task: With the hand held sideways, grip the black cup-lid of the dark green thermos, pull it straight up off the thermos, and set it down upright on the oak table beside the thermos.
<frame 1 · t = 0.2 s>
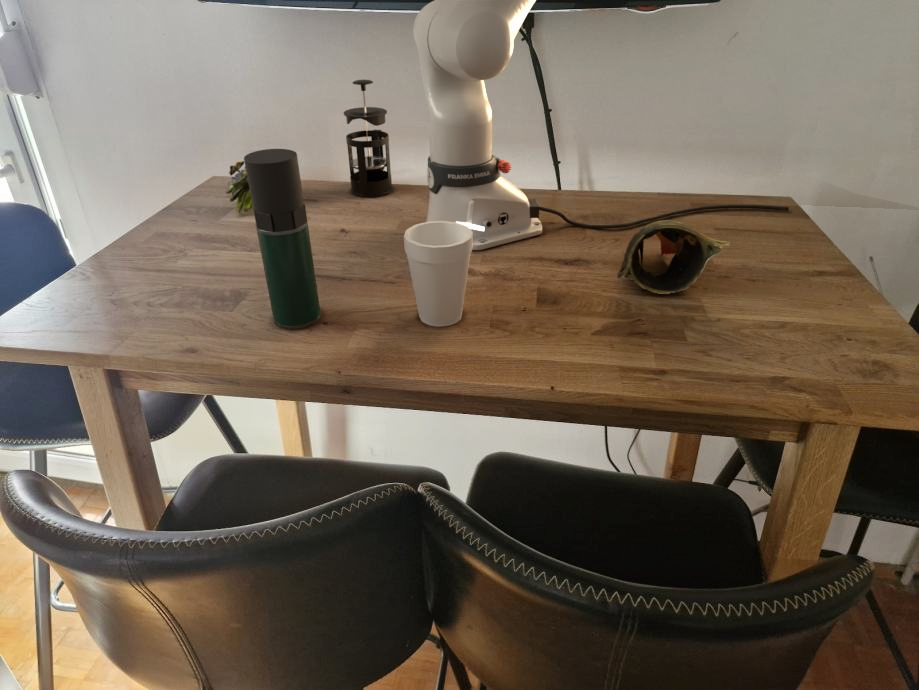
french press: (372, 190, 144), on the table
foam cup: (440, 316, 96), on the table
thermos: (297, 318, 95), on the table
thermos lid: (281, 222, 87), point 15 cm above the table, touching thermos
pot: (660, 281, 105), on the table
passion flower: (257, 206, 136), on the table
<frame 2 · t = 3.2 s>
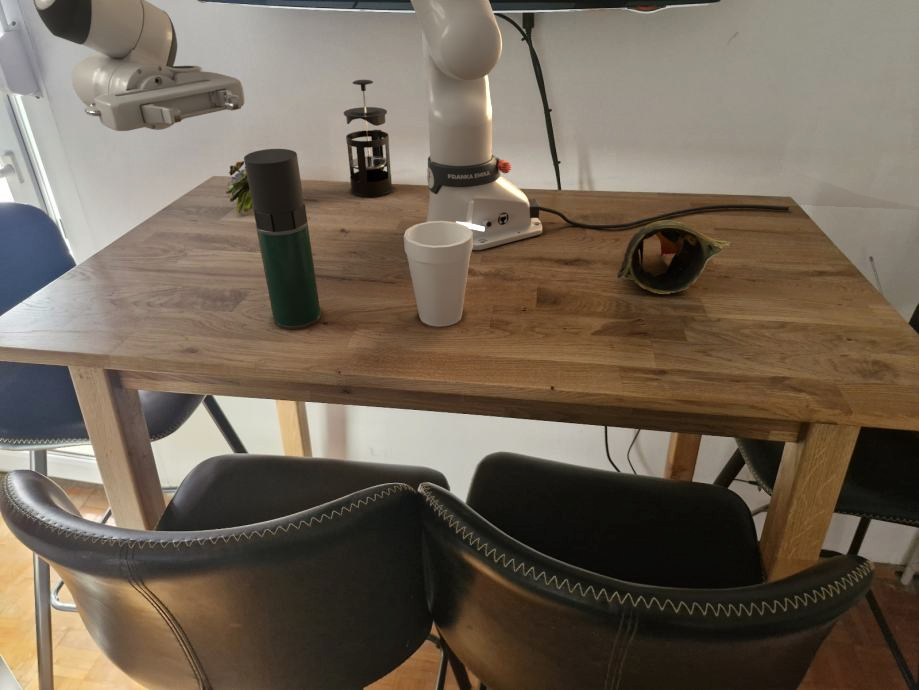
hand: (207, 109, 87), 28 cm above the table, tool horizontal, fingers open, 8 cm apart
nothing on the table moved.
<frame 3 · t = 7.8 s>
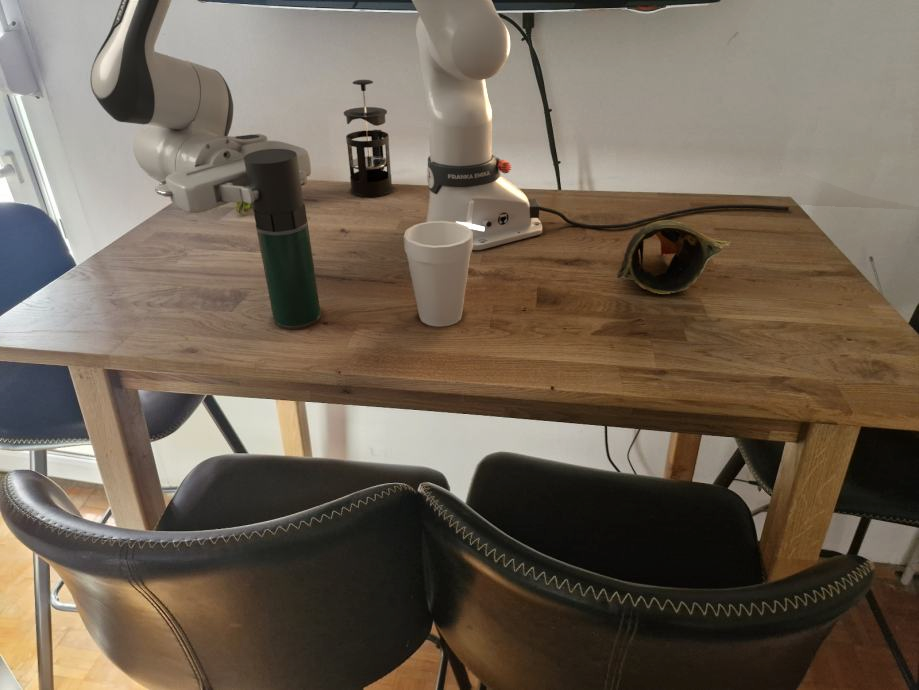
hand: (280, 187, 84), 20 cm above the table, tool horizontal, fingers closed on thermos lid, 6 cm apart
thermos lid: (281, 222, 87), point 15 cm above the table, touching gripper, thermos
everything else where it was.
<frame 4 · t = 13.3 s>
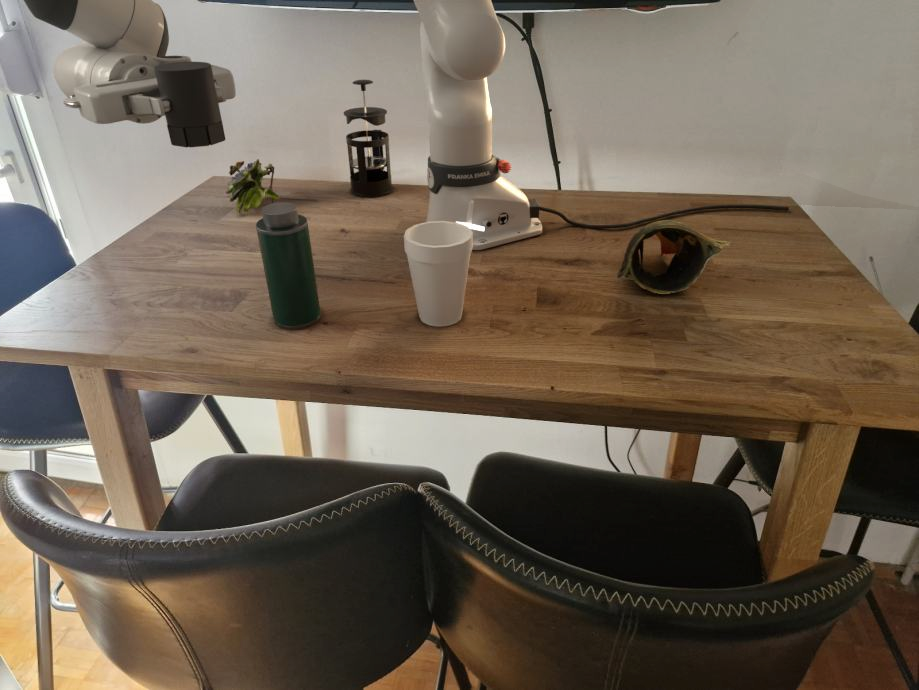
hand: (194, 101, 81), 30 cm above the table, tool horizontal, fingers closed on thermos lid, 6 cm apart
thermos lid: (198, 140, 84), point 25 cm above the table, touching gripper
everything else where it was.
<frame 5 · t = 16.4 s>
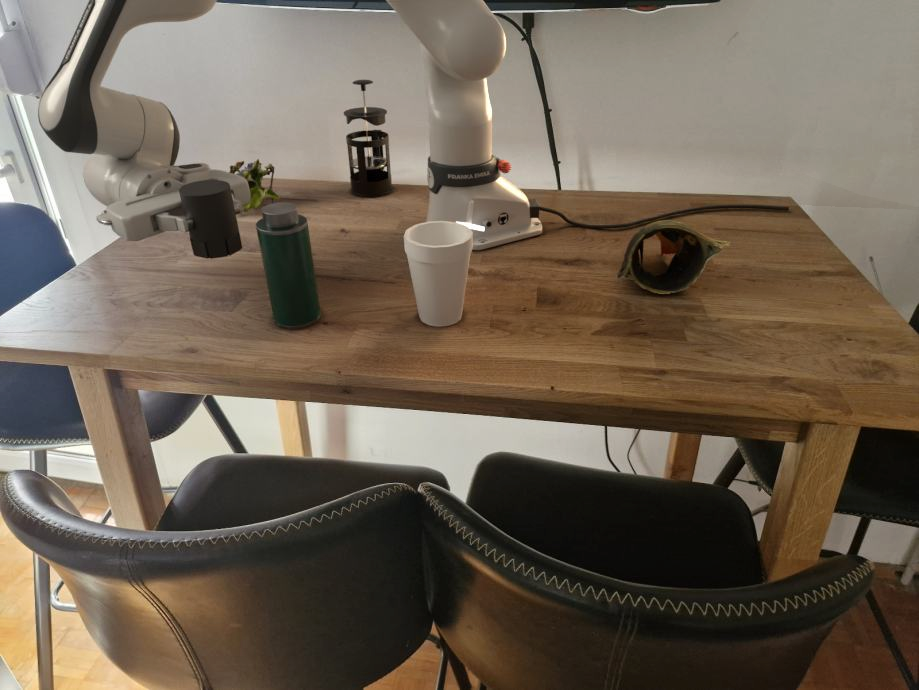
hand: (214, 216, 89), 15 cm above the table, tool horizontal, fingers closed on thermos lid, 6 cm apart
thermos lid: (218, 248, 92), point 10 cm above the table, touching gripper
everything else where it was.
when the fingers open (5 cm above the table, at t = 19.2 s): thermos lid stays where it is, on the table.
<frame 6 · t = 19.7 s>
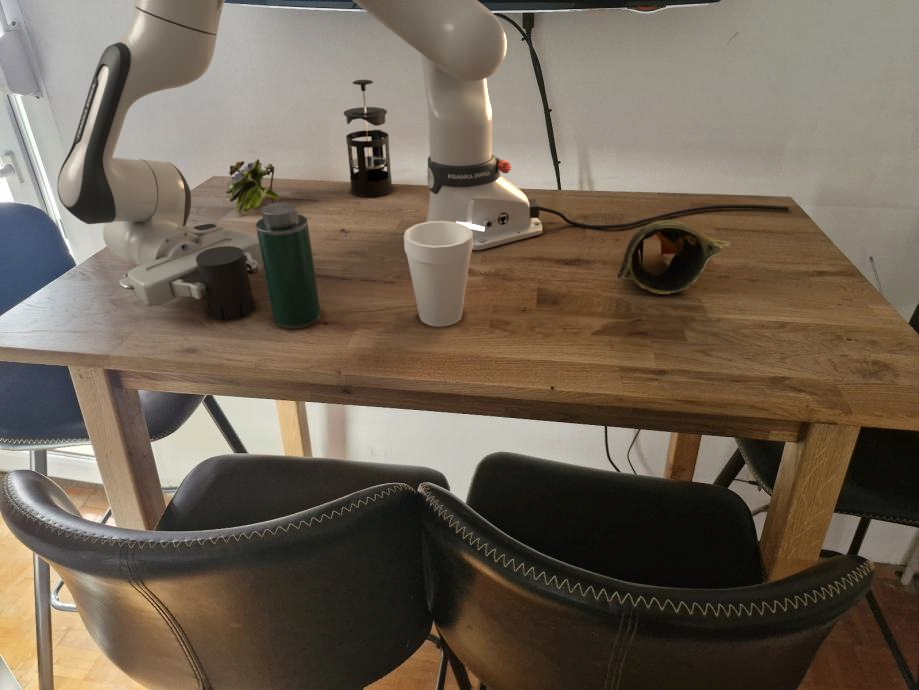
hand: (230, 280, 95), 5 cm above the table, tool horizontal, fingers open, 8 cm apart
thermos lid: (232, 309, 98), on the table
everything else where it was.
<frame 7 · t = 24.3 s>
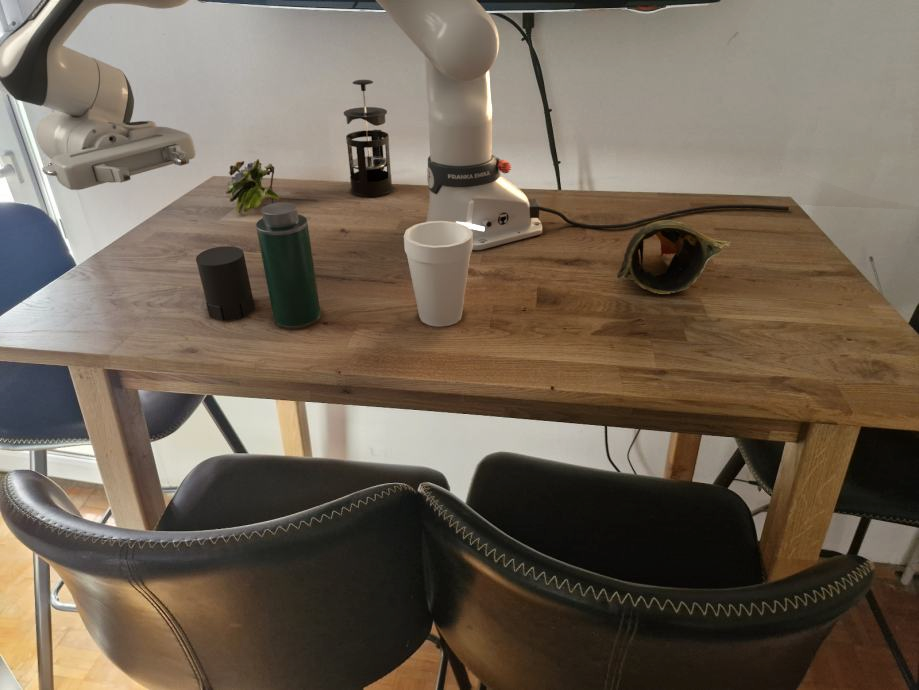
hand: (155, 167, 94), 20 cm above the table, tool horizontal, fingers open, 8 cm apart
nothing on the table moved.
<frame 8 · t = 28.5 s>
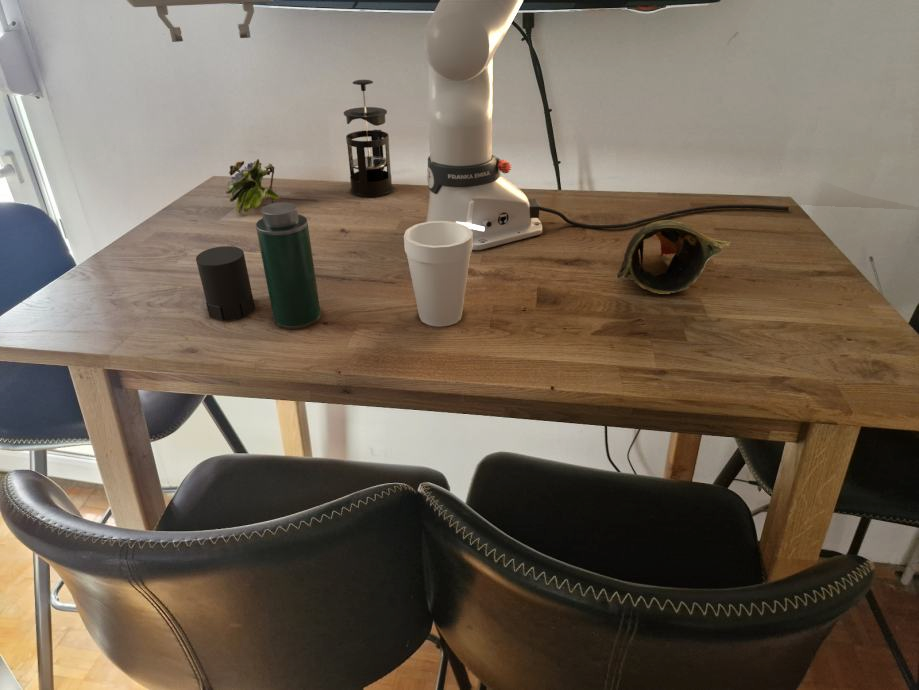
hand: (212, 39, 95), 35 cm above the table, tool pointing down, fingers open, 8 cm apart
nothing on the table moved.
at the end: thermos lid inside the target area (0.2 cm from its centre), on the table; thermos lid tilted 0°; the gripper is holding nothing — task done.
